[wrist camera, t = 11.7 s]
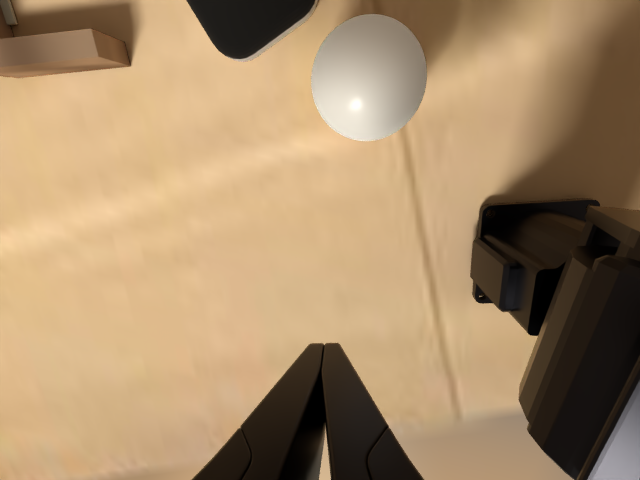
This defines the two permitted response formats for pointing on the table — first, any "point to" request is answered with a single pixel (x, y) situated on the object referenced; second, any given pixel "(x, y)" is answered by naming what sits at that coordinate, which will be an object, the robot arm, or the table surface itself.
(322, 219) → the table surface
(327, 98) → the white rounded piece
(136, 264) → the table surface
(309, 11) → the remote control
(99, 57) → the frame
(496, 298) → the robot arm
